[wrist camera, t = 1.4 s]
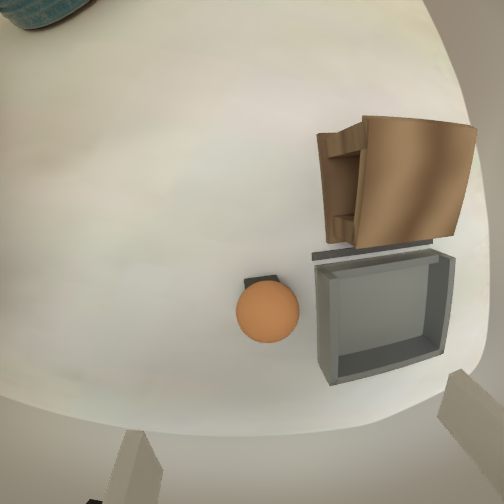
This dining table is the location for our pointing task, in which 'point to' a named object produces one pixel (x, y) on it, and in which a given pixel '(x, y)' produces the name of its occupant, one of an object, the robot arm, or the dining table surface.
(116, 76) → the dining table surface
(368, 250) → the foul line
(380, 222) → the wooden cubby
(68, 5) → the vase
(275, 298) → the ball
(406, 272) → the bin
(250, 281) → the dark open box
